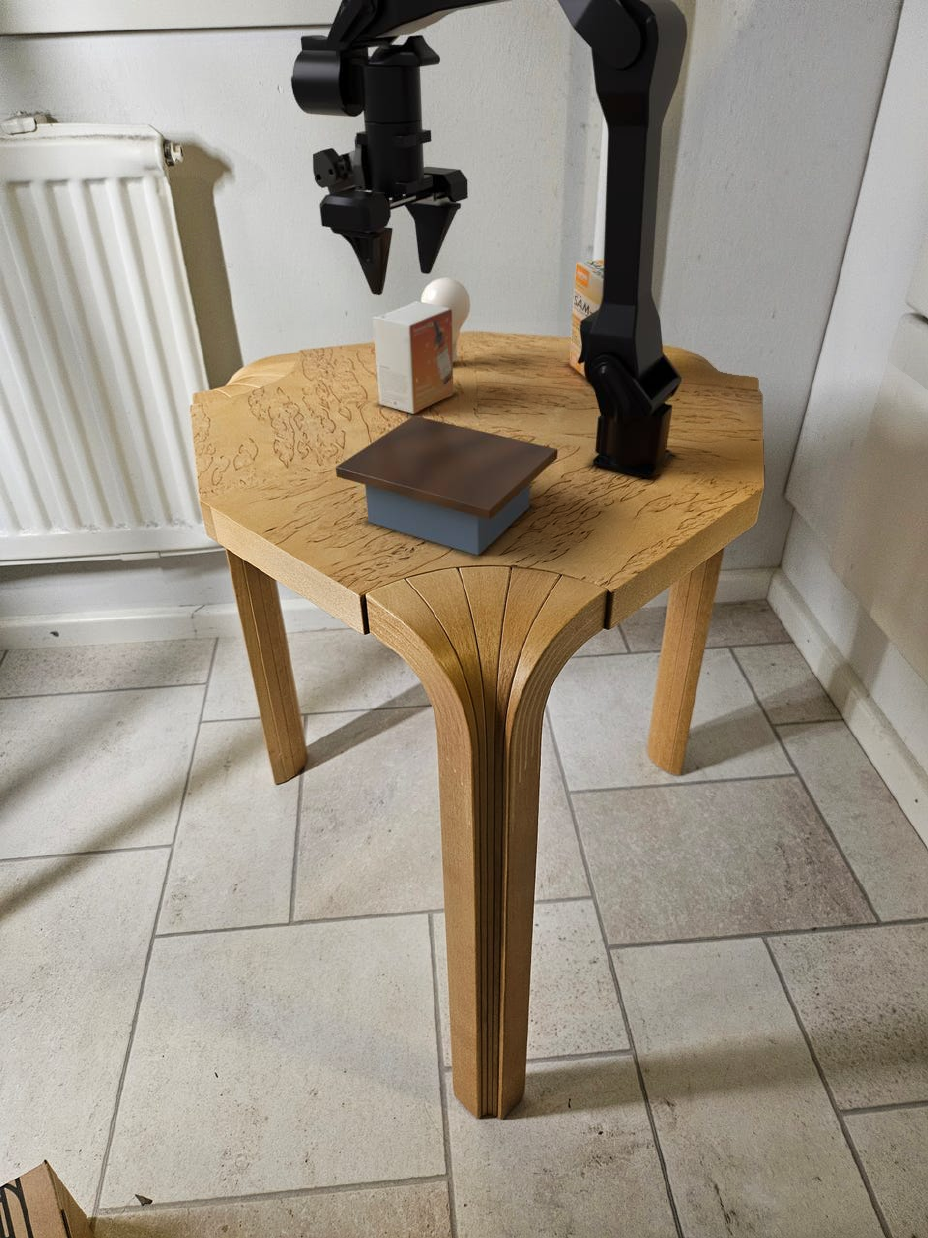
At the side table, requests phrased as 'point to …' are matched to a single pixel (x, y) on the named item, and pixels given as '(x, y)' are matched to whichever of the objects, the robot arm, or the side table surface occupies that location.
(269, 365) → the side table surface
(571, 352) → the supplement box
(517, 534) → the side table surface
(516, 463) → the wooden board
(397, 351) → the small box
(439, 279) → the lightbulb
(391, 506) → the blue box
